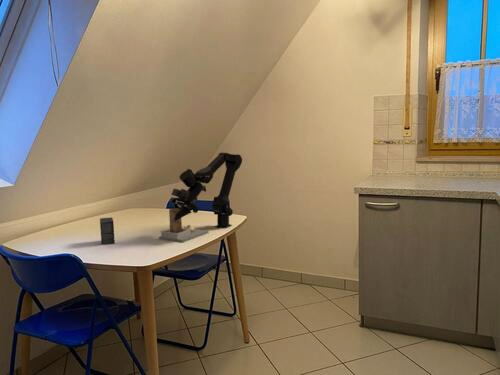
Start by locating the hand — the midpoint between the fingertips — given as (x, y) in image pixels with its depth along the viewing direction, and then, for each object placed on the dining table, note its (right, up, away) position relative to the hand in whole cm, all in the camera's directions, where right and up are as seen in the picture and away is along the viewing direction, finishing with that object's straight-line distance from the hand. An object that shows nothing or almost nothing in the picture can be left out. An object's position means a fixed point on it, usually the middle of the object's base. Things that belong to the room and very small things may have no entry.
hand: (172, 219), depth 192 cm
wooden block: (+1, -6, +2) cm, 7 cm away
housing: (+4, -8, +6) cm, 11 cm away
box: (-29, -10, -4) cm, 31 cm away
